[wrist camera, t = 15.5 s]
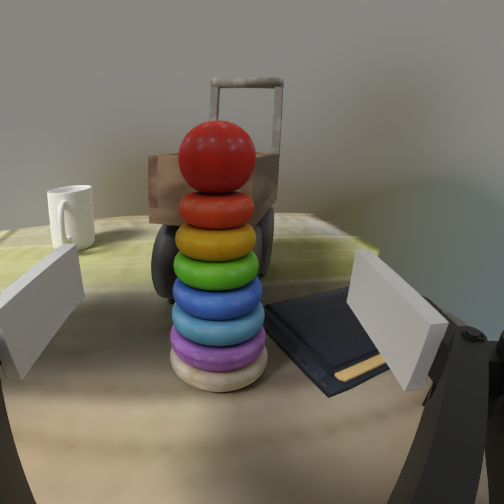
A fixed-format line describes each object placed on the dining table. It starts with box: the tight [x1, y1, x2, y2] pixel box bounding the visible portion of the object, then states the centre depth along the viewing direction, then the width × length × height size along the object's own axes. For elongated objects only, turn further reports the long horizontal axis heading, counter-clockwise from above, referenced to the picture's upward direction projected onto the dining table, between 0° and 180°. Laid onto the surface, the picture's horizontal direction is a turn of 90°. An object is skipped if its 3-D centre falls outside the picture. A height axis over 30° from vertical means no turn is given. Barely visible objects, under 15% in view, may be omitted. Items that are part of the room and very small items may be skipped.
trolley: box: [148, 77, 284, 300], centre depth 36 cm, size 10×19×27 cm, turn 168°
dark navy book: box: [263, 287, 390, 398], centre depth 32 cm, size 20×2×15 cm
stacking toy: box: [170, 120, 268, 392], centre depth 22 cm, size 8×8×19 cm
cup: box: [47, 185, 95, 251], centre depth 47 cm, size 8×12×10 cm
